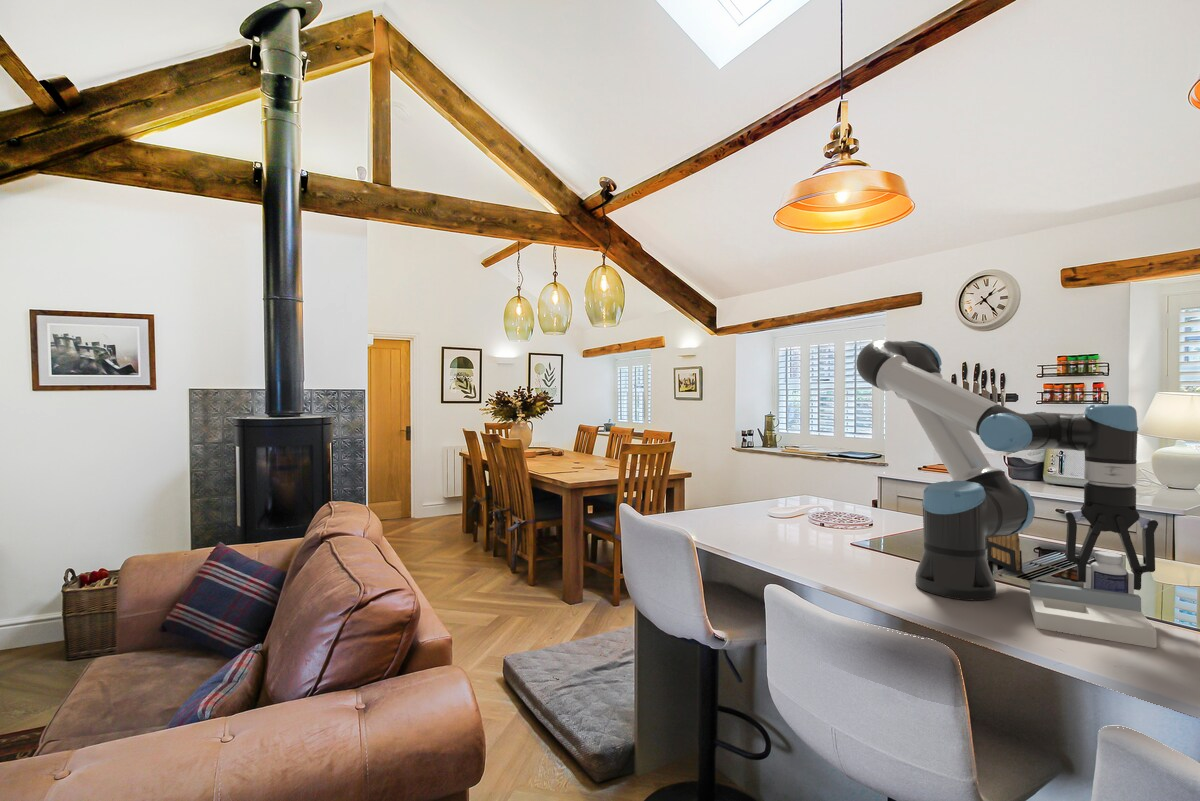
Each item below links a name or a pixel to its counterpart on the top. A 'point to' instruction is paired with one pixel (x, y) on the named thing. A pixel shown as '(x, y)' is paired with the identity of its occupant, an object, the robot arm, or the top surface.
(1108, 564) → the pill bottle
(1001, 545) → the ammunition clip
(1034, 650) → the top surface
